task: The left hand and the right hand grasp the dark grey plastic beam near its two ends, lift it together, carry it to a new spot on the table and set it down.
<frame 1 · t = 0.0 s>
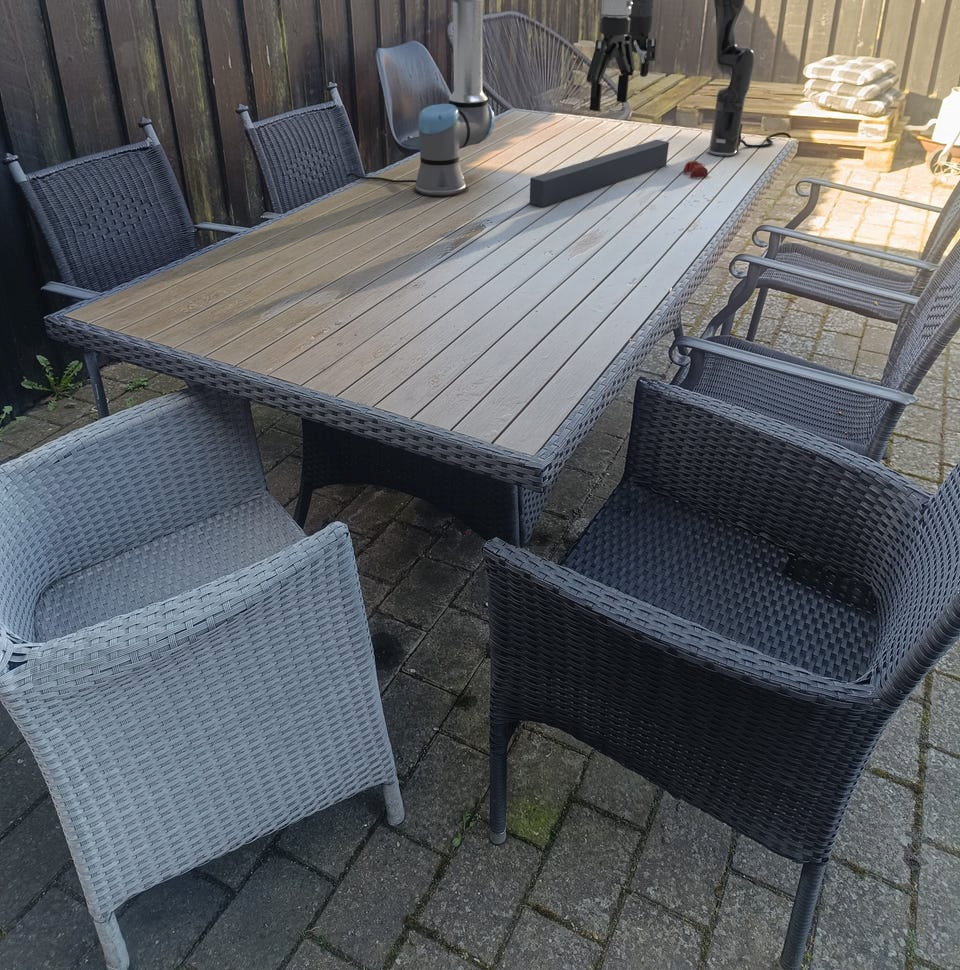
left hand: (608, 106, 226), 28 cm above the table, tool pointing down, fingers open, 13 cm apart
right hand: (633, 74, 256), 29 cm above the table, tool pointing down, fingers open, 8 cm apart
red lumpy piece: (695, 175, 271), on the table
beam: (602, 183, 264), on the table
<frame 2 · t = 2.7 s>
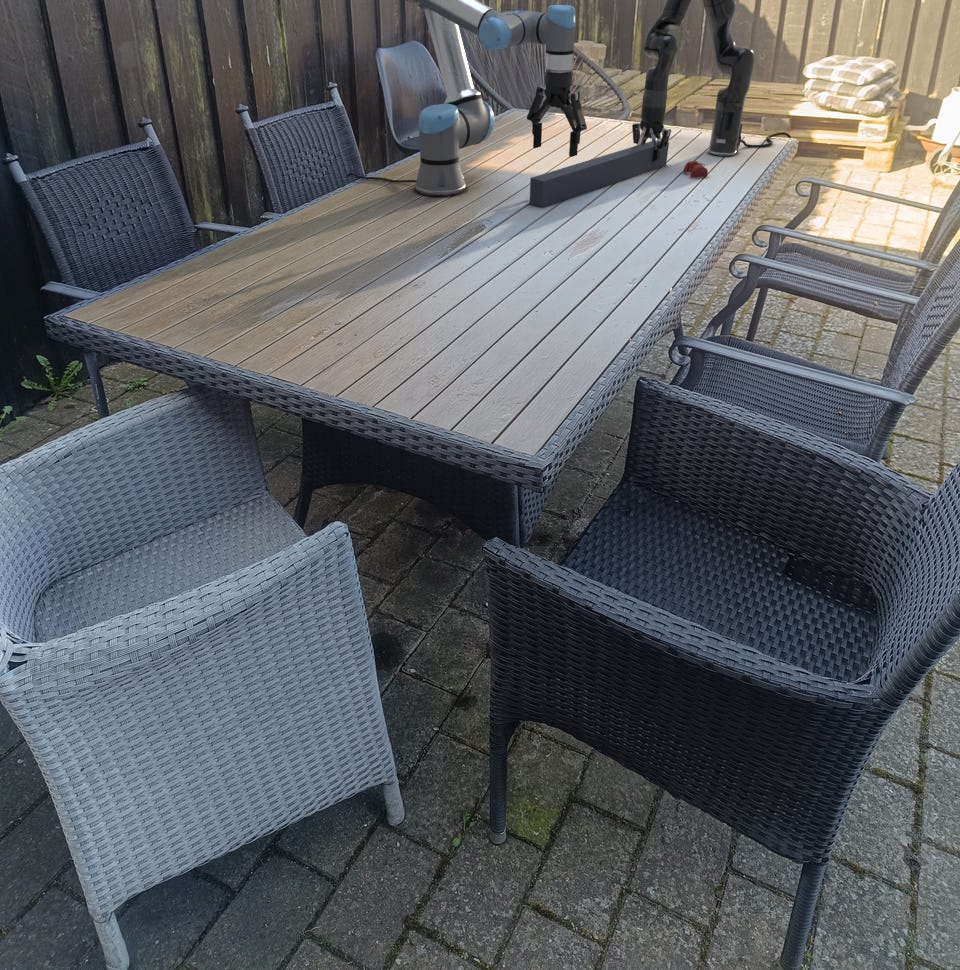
left hand: (554, 151, 242), 14 cm above the table, tool pointing down, fingers open, 13 cm apart
right hand: (647, 159, 276), 3 cm above the table, tool pointing down, fingers closed on beam, 5 cm apart
beam: (602, 183, 264), on the table, touching right hand
everything else where it was.
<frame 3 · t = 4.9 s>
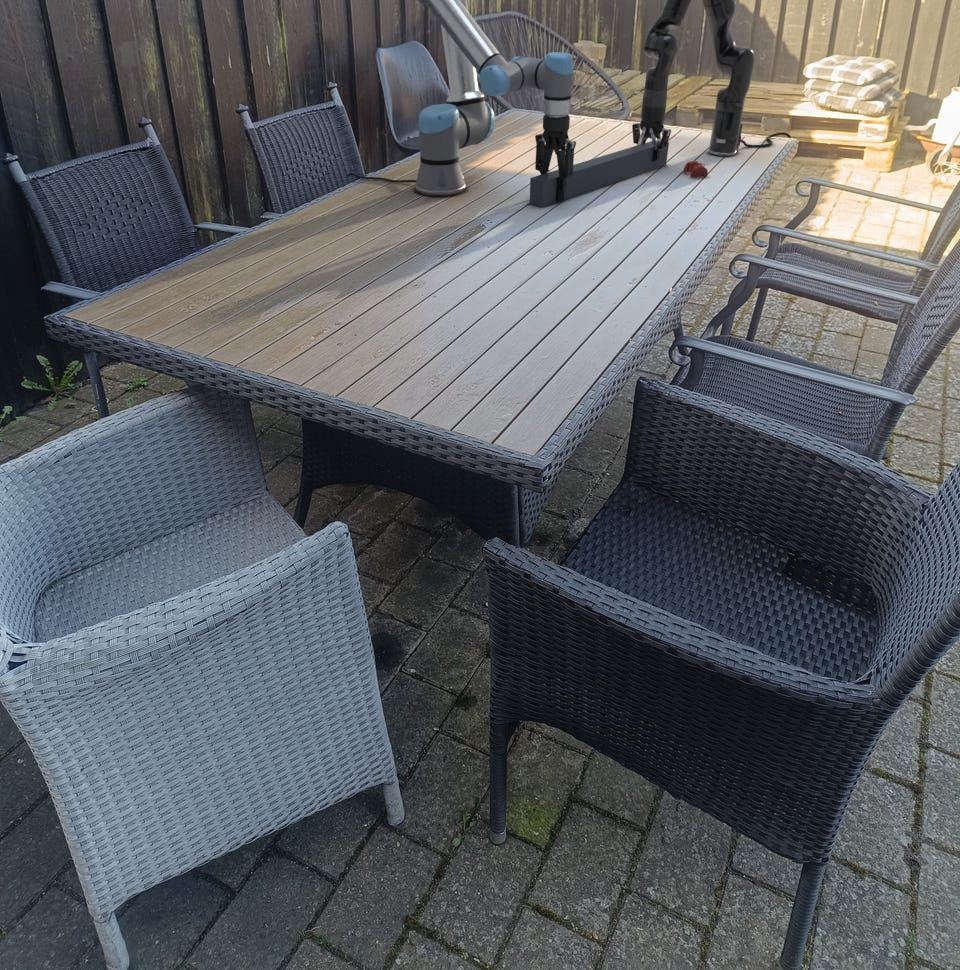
left hand: (552, 198, 250), 1 cm above the table, tool pointing down, fingers closed on beam, 5 cm apart
right hand: (647, 159, 276), 3 cm above the table, tool pointing down, fingers closed on beam, 5 cm apart
beam: (602, 183, 264), on the table, touching left hand, right hand
everything else where it was.
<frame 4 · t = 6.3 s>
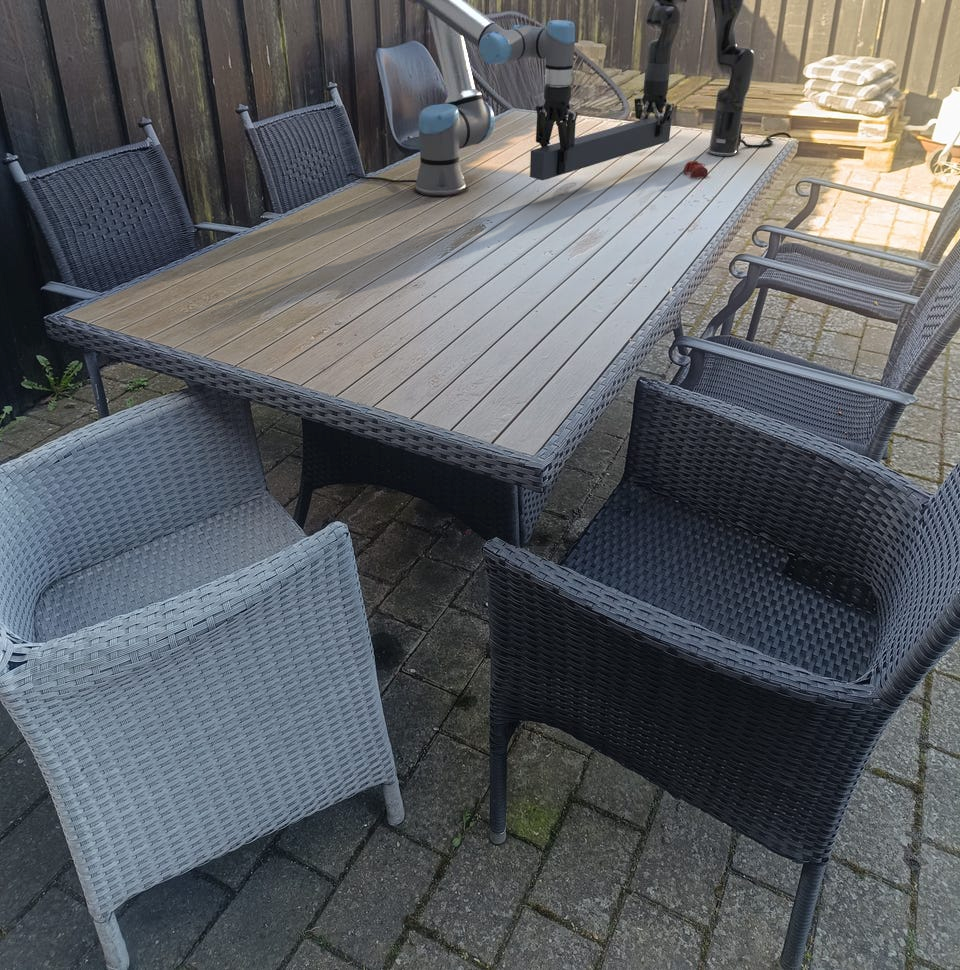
left hand: (553, 171, 245), 8 cm above the table, tool pointing down, fingers closed on beam, 5 cm apart
right hand: (650, 135, 272), 10 cm above the table, tool pointing down, fingers closed on beam, 5 cm apart
beam: (603, 158, 260), point 8 cm above the table, touching left hand, right hand
everything else where it was.
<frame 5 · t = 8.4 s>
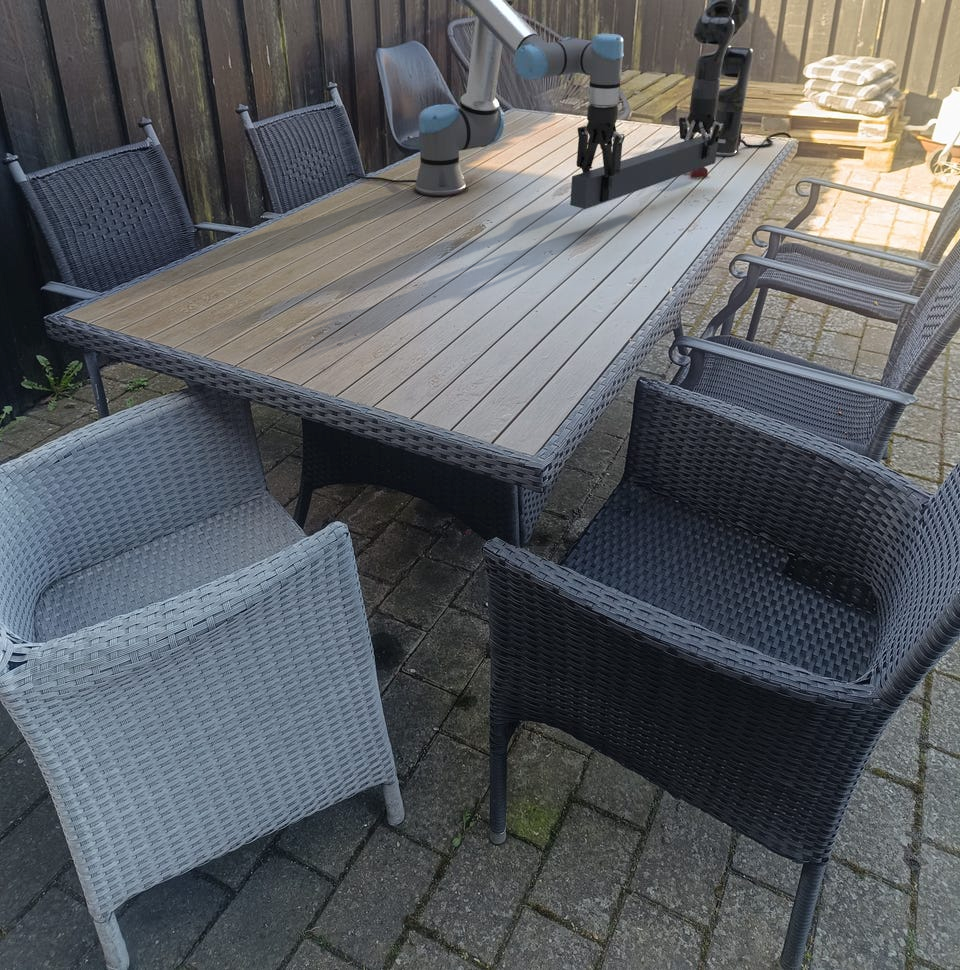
left hand: (595, 198, 224), 8 cm above the table, tool pointing down, fingers closed on beam, 5 cm apart
right hand: (696, 156, 251), 10 cm above the table, tool pointing down, fingers closed on beam, 5 cm apart
beam: (647, 182, 238), point 8 cm above the table, touching left hand, right hand
everything else where it was.
when the left hand's fingers open (2 cm above the table, at t = 9.7 s): beam stays where it is, on the table.
when the right hand's fingers open (3 cm above the table, at t = 9.9 s): beam stays where it is, on the table.
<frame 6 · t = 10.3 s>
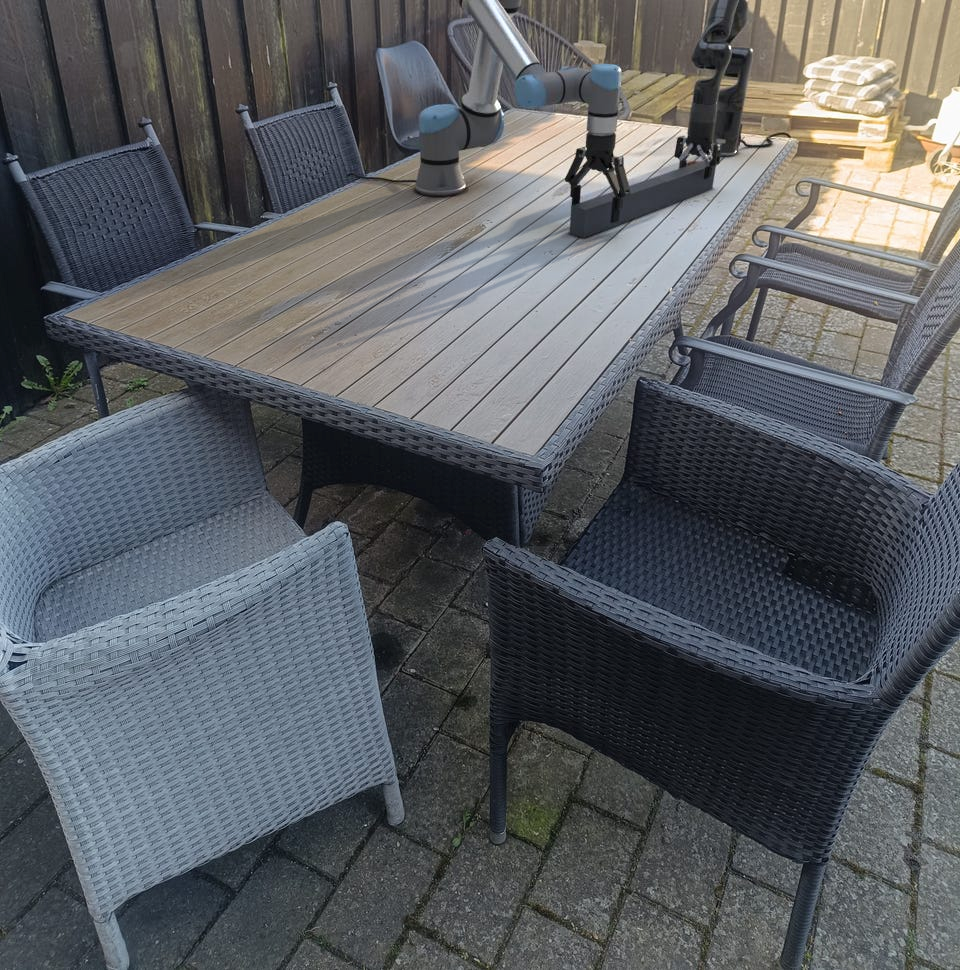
left hand: (594, 215, 226), 4 cm above the table, tool pointing down, fingers open, 13 cm apart
right hand: (694, 176, 253), 5 cm above the table, tool pointing down, fingers open, 8 cm apart
beam: (645, 209, 243), on the table
everything else where it was.
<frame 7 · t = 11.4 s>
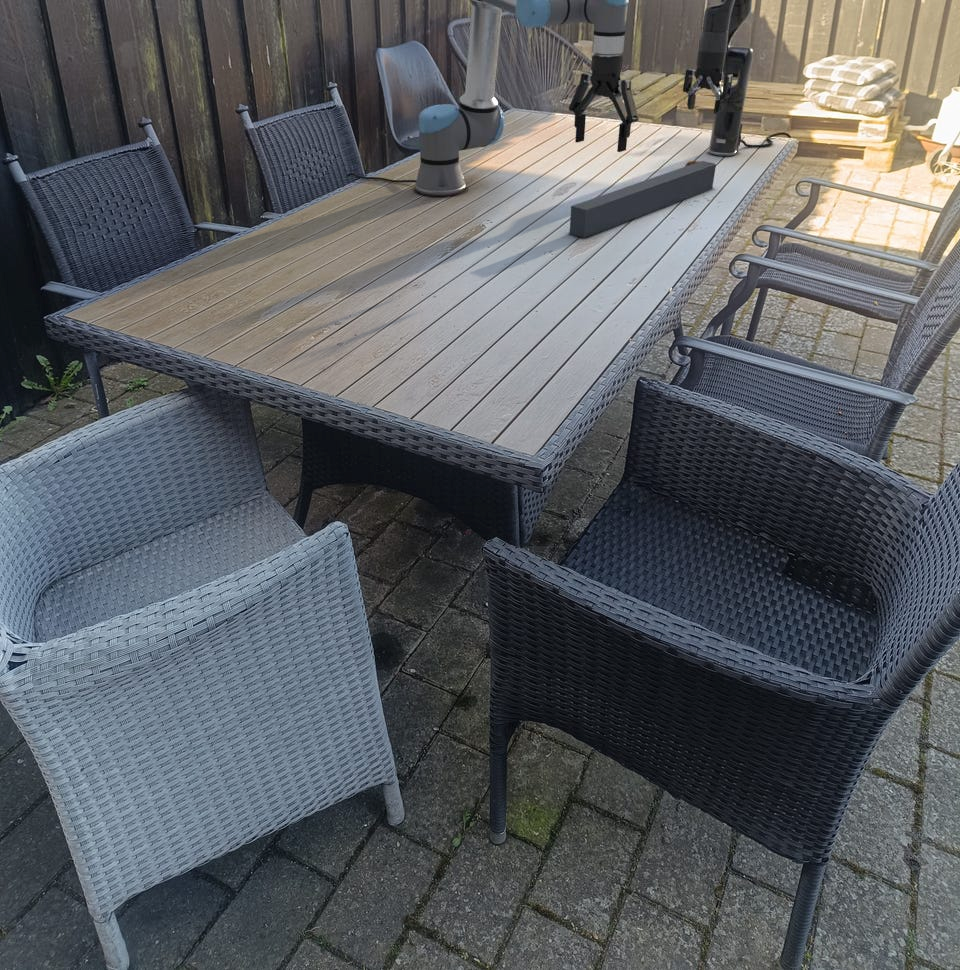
left hand: (600, 146, 216), 22 cm above the table, tool pointing down, fingers open, 13 cm apart
right hand: (703, 111, 243), 23 cm above the table, tool pointing down, fingers open, 8 cm apart
nothing on the table moved.
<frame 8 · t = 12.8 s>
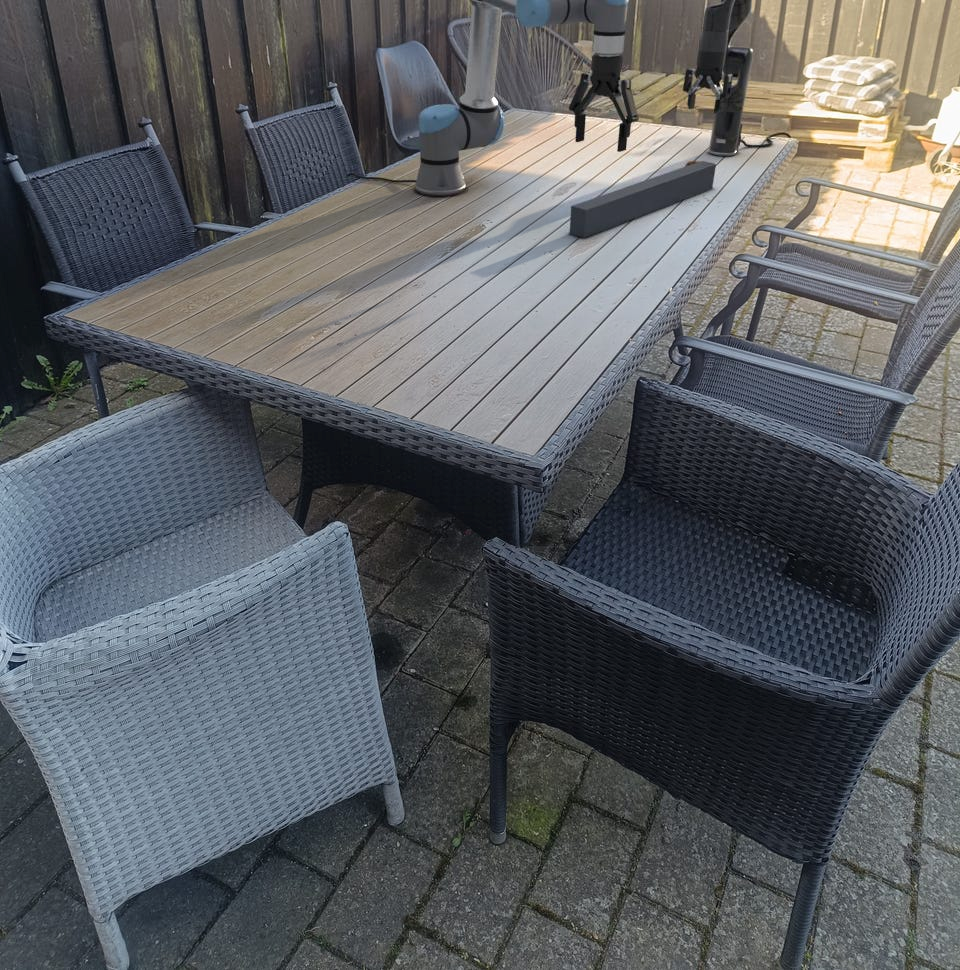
left hand: (600, 146, 216), 22 cm above the table, tool pointing down, fingers open, 13 cm apart
right hand: (703, 110, 243), 23 cm above the table, tool pointing down, fingers open, 8 cm apart
nothing on the table moved.
at the end: beam inside the target area (0.3 cm from its centre), on the table; beam tilted 0°; beam never tilted more than 1° during the clip; both hands held the beam at the same time; the left hand is holding nothing; the right hand is holding nothing; beam at rest at the end (0.0 cm/s) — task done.
